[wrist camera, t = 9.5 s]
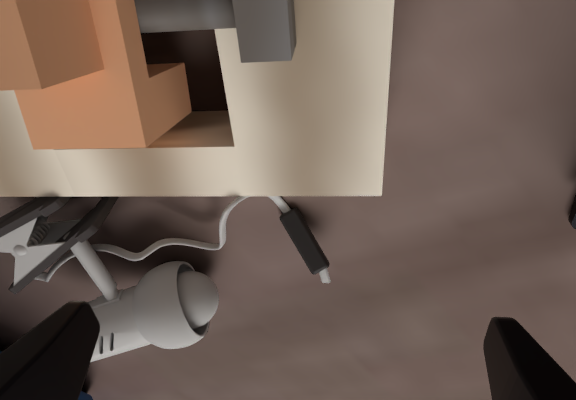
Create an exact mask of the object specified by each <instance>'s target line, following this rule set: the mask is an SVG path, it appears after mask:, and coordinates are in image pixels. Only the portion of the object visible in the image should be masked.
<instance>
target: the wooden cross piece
mask: <svg viewBox="0 0 576 400" xmlns="http://www.w3.org/2000/svg"><path fill="white" fill-rule="evenodd" d="M5 90H14V92H15V95H16V98H17V101H18V104H19V107H20V110H21V113H22V116H23V119H24V122H25V125H26V128H27V131H28V135H29V138H30V141H31V144H32V147H33V150H39V149H99V148H146V147H148V146H149V145H150V144H151V143H153V142H154V141H155V140H157V139H158V138H159V137H160V136H162V135H163V134H164V133H165V132H167V131H168V130H169V129H171V128H172V127H173V126H174V125H176V124H177V123H178V122H180V121H181V120H182V119H183V118H185V117H186V116H187V115H188V114H190V113H191V112H192V109H191V103H190V96H189V90H188V83H187V77H186V71H185V64H184V63H167V64H146V60H145V54H144V49H143V44H142V39H141V33H140V28H139V23H138V18H137V13H136V7H135V2H134V0H0V91H5Z"/></svg>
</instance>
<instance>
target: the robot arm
mask: <svg viewBox="0 0 576 400" xmlns="http://www.w3.org/2000/svg"><path fill="white" fill-rule="evenodd" d="M574 201H575V203H574V205H573V208H572V210H571V213H570V215H569V219H568V220H569V222H570V224H571V225H572V227H573V228H575V229H576V195H575V197H574ZM99 333H100V323H99V321H98V319H97V317H96V315H95V313H94V311H93V310H92V308H91V306H90V304H89V303H88V302H85V301H70V302H68V303H66V304H65V305H63V306H62V307H61V308H59V309H58V310H57V311H55V312H54V313H53V314H51V315H50V316H49V317H47V318H46V319H45V320H44V321H42V322H41V323H40V324H38V325H37V326H36V327H34V328H33V329H32V330H30V331H29V332H28V333H26V334H25V335H24V336H22V337H21V338H20V339H18V340H17V341H16V342H14V343H13V344H12V345H10V346H9V347H8V348H7V349H5V350H4V351H3V352H1V353H0V400H78V398H79V395H80V392H81V389H82V387H83V384H84V380H85V377H86V374H87V371H88V368H89V365H90V361H91V358H92V355H93V352H94V349H95V346H96V343H97V339H98V336H99ZM484 355H485V361H486V367H487V372H488V378H489V384H490V390H491V396H492V400H576V383H575V382H574V381H573V380H572V378H571V377H570V376H569V375H568V374H567V373H566V372H565V371H564V370H563V369H562V368H561V367H560V366H559V365H558V364H557V363H556V362H555V361H554V360H553V358H552V357H551V356H550V355H549V354H548V353H547V352H546V351H545V350H544V349H543V348H542V347H541V346H540V345H539V344H538V343H537V342H536V341H535V340H534V338H533V337H532V336H531V335H530V334H529V333H528V332H527V331H526V330H525V329H524V328H523V327H522V326H521V325H520V324H519V323H518V322H517V321H516V320H515V319H513V318H510V317H493V318H492V319H491V321H490V323H489V326H488V329H487V333H486V336H485V339H484Z"/></svg>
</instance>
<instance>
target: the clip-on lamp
mask: <svg viewBox="0 0 576 400" xmlns="http://www.w3.org/2000/svg"><path fill="white" fill-rule="evenodd" d="M118 197H119V196H105V197H104V198H102V199H101V200H100V201H99V203H98V204H97V205H96V207H95V208H94V209H92V210H91V211H90V212H89V213H88V214H87V215H85V216H84V217H83V218H82V219H77V220H68V221H59V222H49V223H48V222H47V218H48V216H49V215H50V214H52V213H53V212H55V211H57V210H58V209H60V208H61V207H63V206H64V205H65V204H66V203H67V202H68V200H69V199H70V198H71V197H37V198H35V199H34V200H32V201H30V202H28V203H26V204H24V205H23V206H21V207H19V208H17V209H15V210H13V211H12V212H10V213H8V214H6V215H4V216H3V217H1V218H0V252H5V253H12V255H13V256H14V257H15V272H14V282H13V283H12V285H11V286H10V287H9V290H10V291H11V292H13V293H14V294H16V293H18V292H19V291H20V290H22V289H23V288H24V287H25V286H26V285H28V284H29V283H30V282H31V281H32V280H34V279H36V280H42V281H46V282H49V280H50V278H51V277H52V275H53V274H54V272H55V271H56V270H57V269H58V268H59V267H60V266H61V265H62V264H63V263H65V262H66V261H68V260H69V259H71V258H73V257H75V256H76V257H77V259H78V260H79V262H80V263H81V264H82V266H83V267H84V269H85V270H86V271H87V273H88V274H89V276H90V277H91V278H92V280H93V281H94V283H95V284H96V285H97V287H98V288H99V289H100V291H101V292H102V294H103V296H100V297H97V298H96V299H95V300H92V301H89V302H88V303H89V304H90V306H91V308H92V310H93V311H94V313H95V315H96V317H97V319H98V321H99V323H100V333H99V336H98V339H97V343H96V346H95V349H94V352H93V355H92V358H91V361H90V362H93V361H96V360H100V359H103V358H106V357H110V356H113V355H116V354H120V353H123V352H126V351H129V350H133V349H136V348H139V347H143V346H146V345H149V344H154V345H156V346H158V347H161V348H165V349H177V348H182V347H187V346H190V345H192V344H194V343H196V342H198V341H199V340H200V339H202V338H203V337H204V336H205V335H206V333H207V332H208V328H209V320H210V319H211V318H212V317H213V315H214V314H215V312H216V310H217V308H218V303H219V294H218V290H217V287H216V285H215V284H214V282H213V281H212V280H211V279H210V278H209V277H208V276H207V275H205V274H203V273H200V272H196V271H194V269H193V267H192V266H191V265H190V264H189V263H187V262H184V261H171V262H167V263H164V264H161V265H159V266H157V267H155V268H153V269H152V270H150V271H148V272H147V273H146V274H145V275H144V276H143V277H142V279H141V280H140V281H139V283H138V285H136V286H133V287H130V288H127V289H124V290H123V289H121V290H117V288H116V286H117V283H116V282H115V280H114V279H113V277H112V276H111V274H110V273H109V271H108V270H107V268H106V267H105V266H104V264H103V263H102V261H101V260H100V258H99V257H98V255H97V254H96V252H95V251H105V252H109V253H113V254H115V255H118V256H120V257H123V258H125V259H128V260H132V261H138V260H142V259H144V258H145V257H147V256H148V255H150V254H151V253H152V252H154V251H155V250H157V249H159V248H160V247H163V246H166V245H186V246H192V247H197V248H202V249H207V250H218V249H220V248H221V247H222V246H223V245H224V244H225V242H226V220H227V217H228V214H229V213H230V211H231V210H232V209H233V207H234V206H236V205H237V204H238V203H239V202H240V201H242V200H244V199H246V198H247V197H250V196H239V197H237V198H236V199H234V200H233V201H232V202H231V203H230V204H229V205H228V206H227V207H226V209H225V210H224V211H223V213H222V216H221V218H220V221H219V238H220V243H218V244H213V243H205V242H200V241H195V240H189V239H182V238H168V239H162V240H159V241H157V242H155V243H153V244H152V245H150V246H149V247H148V248H146V249H145V250H143V251H142V252H139V253H133V252H130V251H127V250H125V249H123V248H120V247H118V246H114V245H110V244H94V245H90V243H89V242H88V241H87V239H88V238H89V237H91V236H92V235H93V234H95V233H96V232H97V231H98V230H99V228H100V227H101V225H102V223H103V222H104V220H105V219H106V217H107V215H108V214H109V212H110V210H111V209H112V207H113V205H114V204H115V202H116V200H117V199H118ZM268 197H269V198H271V199H272V200H273V201H274V202H275V203H276V205H277V206H278V207H279V208H280V210H281V211H282V213H283V214H282V215H281V216H280V220H281V222H282V224H283V226H284V227H285V229H286V231H287V232H288V234H289V236H290V238H291V239H292V241H293V243H294V244H295V246H296V248H297V249H298V251H299V253H300V255H301V256H302V258H303V260H304V261H305V263H306V265H307V266H308V268H309V270H310V272H311V273H312V274H317V273H319V274H320V277H321V281H322V283H330V282H331V280H330V277H329V273H328V270H327V268H328V267H329V261H328V260H327V258H326V256H325V255H324V253H323V251H322V249H321V248H320V246H319V244H318V243H317V241H316V239H315V237H314V236H313V234H312V232H311V231H310V229H309V227H308V226H307V224H306V222H305V220H304V219H303V217H302V215H301V214H300V212H299V210H298V209H297V208H293V209H290V208H289V206H288V205H287V203H286V202H285V201H284V200H283V199H282V198H281V197H280V196H268ZM69 249H71V250H72V251H71V252H69V253H67V254H66V255H64V256H63V257H61V256H62V255H63V254H64V253H66V252H67V251H68V250H69ZM60 257H61V258H60ZM58 258H60V259H59V260H58V261H57V262H56V263H55V264H54V265H53V266H52V267H51V268H50V270H49V272H48V273H46V272H43V271H44V270H45V269H47V268H48V267H49V266H50V265H51V264H52V263H54V262H55V261H56V260H57V259H58Z"/></svg>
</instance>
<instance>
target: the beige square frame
mask: <svg viewBox="0 0 576 400" xmlns="http://www.w3.org/2000/svg"><path fill="white" fill-rule="evenodd" d="M134 2H135V7H136V13H137V18H138V23H139V28H140V33H152V32H171V31H189V30H208V29H214V30H215V35H216V41H217V47H218V53H219V59H220V64H221V70H222V76H223V82H224V88H225V93H226V99H227V105H228V111H193V112H191V113H190V114H188V115H187V116H186V117H185V118H183V119H182V120H181V121H180V122H178V123H177V124H176V125H174V126H173V127H172V128H171V129H169V130H168V131H167V132H165V133H164V134H163V135H162V136H160V137H159V138H158V139H157V140H155V141H154V142H153V143H151V144H150V145H149V146H148V147H146V148H99V149H39V150H33V147H32V144H31V141H30V138H29V135H28V131H27V128H26V125H25V122H24V119H23V116H22V113H21V110H20V107H19V104H18V101H17V98H16V95H15V92H14V90H5V91H0V197H94V196H382V183H383V168H384V152H385V137H386V122H387V106H388V91H389V76H390V60H391V45H392V30H393V14H394V0H134Z"/></svg>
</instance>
